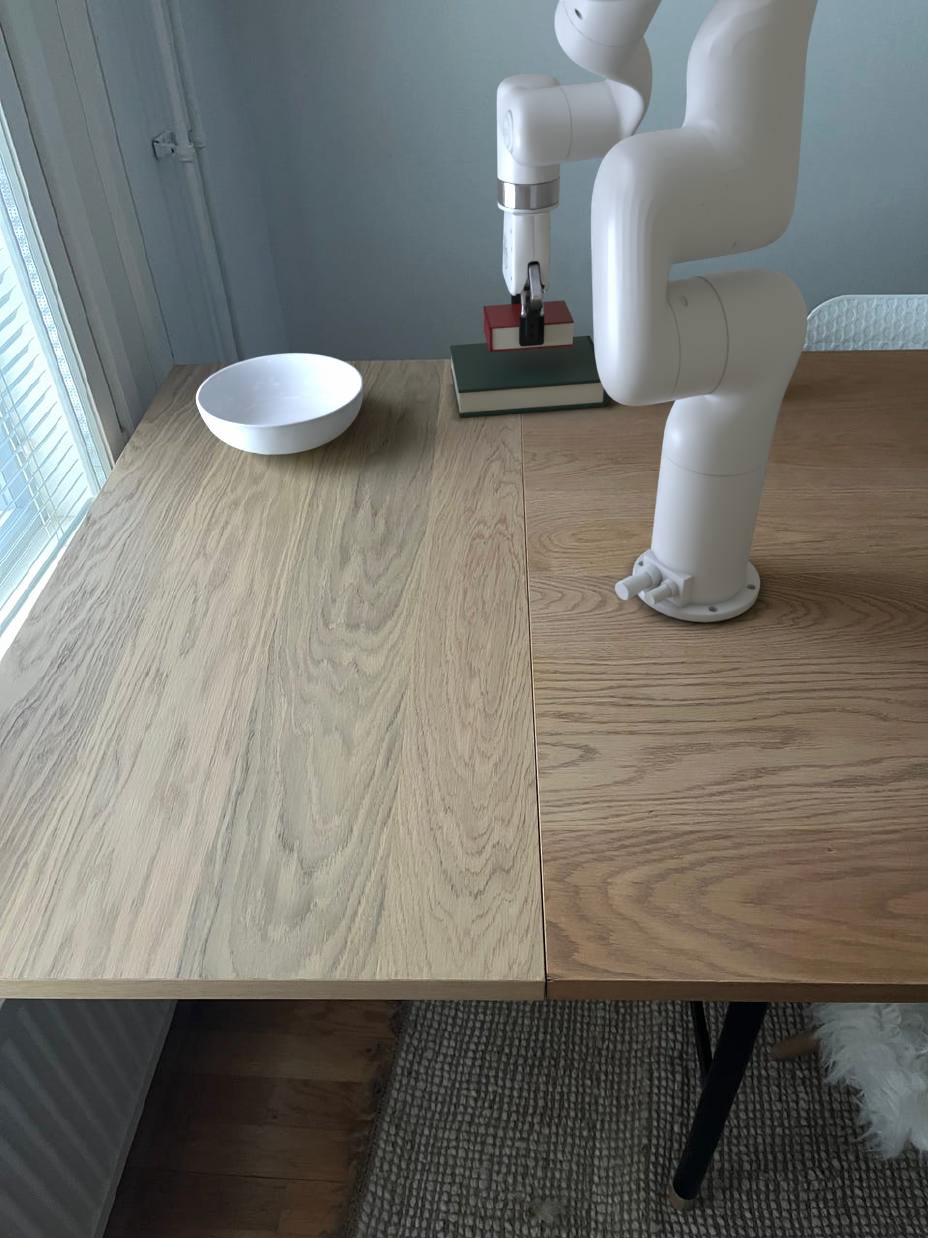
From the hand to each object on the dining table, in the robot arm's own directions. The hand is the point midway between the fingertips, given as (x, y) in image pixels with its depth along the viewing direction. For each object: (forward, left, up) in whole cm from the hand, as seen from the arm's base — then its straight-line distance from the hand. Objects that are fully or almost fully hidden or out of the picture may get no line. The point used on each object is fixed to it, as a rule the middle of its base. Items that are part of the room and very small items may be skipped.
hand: (527, 331), depth 126 cm
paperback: (0, 0, -1) cm, 1 cm away
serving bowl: (-32, +10, -8) cm, 35 cm away
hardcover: (0, 0, -8) cm, 8 cm away
